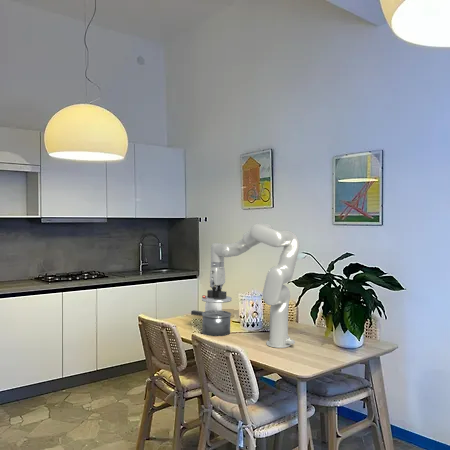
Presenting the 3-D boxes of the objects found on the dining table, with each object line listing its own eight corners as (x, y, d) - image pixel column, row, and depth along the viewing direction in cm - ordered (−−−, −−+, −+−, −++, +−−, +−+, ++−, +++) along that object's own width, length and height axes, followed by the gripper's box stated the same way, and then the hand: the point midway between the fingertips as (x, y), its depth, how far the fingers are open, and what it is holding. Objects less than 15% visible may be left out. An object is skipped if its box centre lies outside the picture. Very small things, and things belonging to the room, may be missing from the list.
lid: (237, 299, 259) (237, 290, 259) (221, 304, 245) (221, 294, 245) (212, 296, 268) (212, 287, 268) (196, 300, 254) (196, 291, 254)
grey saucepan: (236, 331, 260) (236, 312, 260) (220, 338, 245) (221, 318, 245) (200, 325, 273) (200, 307, 273) (183, 331, 259) (183, 312, 259)
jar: (222, 320, 287) (223, 297, 286) (220, 324, 276) (221, 300, 276) (206, 319, 288) (206, 296, 287) (203, 323, 277) (204, 299, 277)
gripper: (215, 266, 247) (214, 299, 248) (230, 264, 261) (229, 295, 262) (203, 265, 251) (203, 298, 252) (219, 263, 265) (218, 294, 265)
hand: (216, 296), depth 257 cm, fingers closed on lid, 3 cm apart
